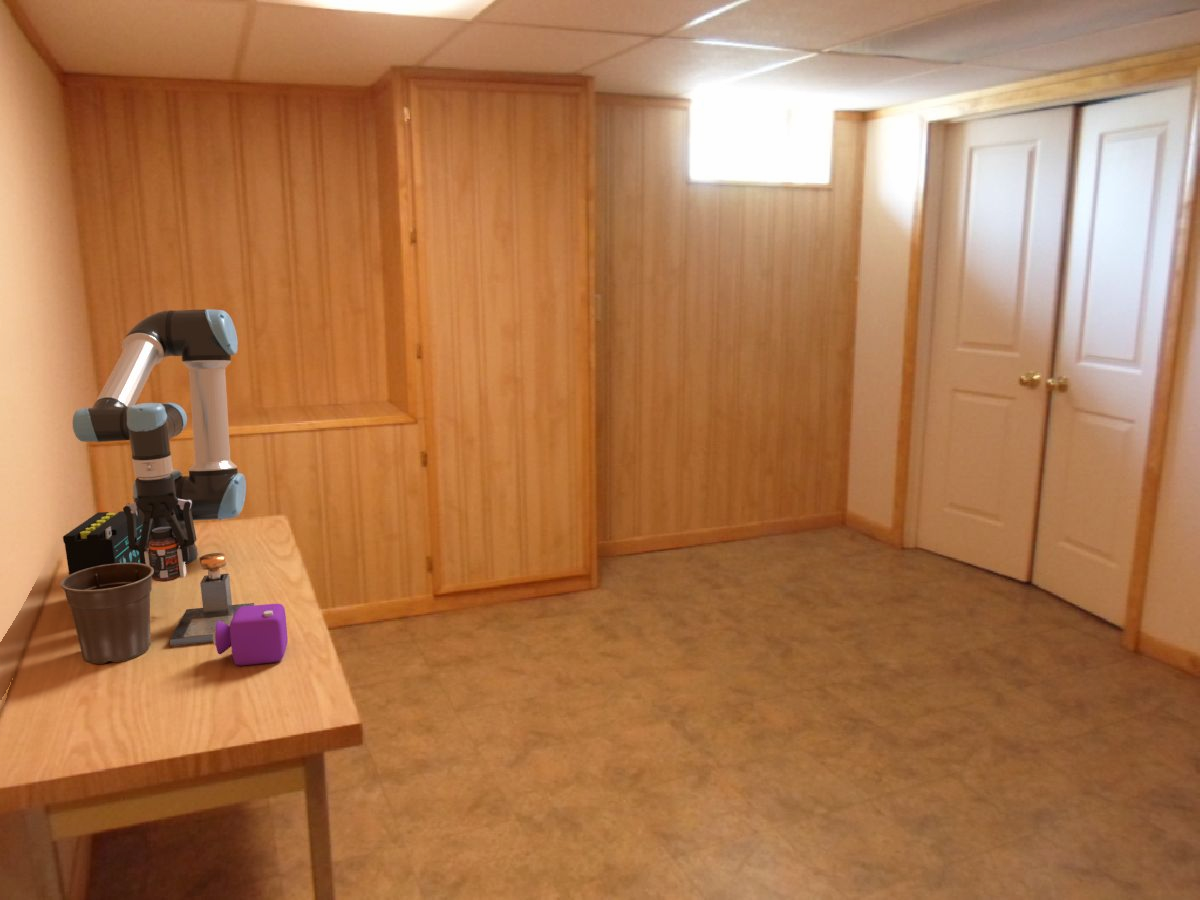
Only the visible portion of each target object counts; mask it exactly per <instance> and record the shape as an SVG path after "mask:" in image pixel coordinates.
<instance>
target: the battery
mask: <svg viewBox="0 0 1200 900" xmlns="http://www.w3.org/2000/svg"><path fill="white" fill-rule="evenodd" d="M135 515H136V528H137V543H140V538H141V533H142V529H143V525H142V515H137V511H136V512H135ZM62 540H63V541H62V542H63V544H64V549H65V554H66V555H65V556H66V563H67V571H68V576H69V575H70V574H73V573H75V572H78V571H81V570H84V569H87V568H91V567H95V566H100V565H107V564H116V563H141V562H140V555H139V552H138V551H137V550H130V549H129V544H128V529H127V517H126V515H125V513H124V511H122V510H120V511H118V512H117V513H115V512H108V511H103V512H99V511H98V512H97V513H95V514H94V515H92V516H91V517H89V518H87V519H86V520H85V521H84V522H81V524H79V525H77V526H76V527H75V528H73V529H72V530H70V531H69V532H67V533H66V534H64V535H63V536H62Z"/></svg>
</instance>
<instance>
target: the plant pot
mask: <svg viewBox="0 0 1200 900" xmlns="http://www.w3.org/2000/svg"><path fill="white" fill-rule="evenodd" d="M153 573H154V569H153V568H152V567H151V566H149V565H146V564H141V563H116V564H107V565H100V566H95V567H91V568H87V569H84V570H81V571H78V572H75V573H73V574H70V575H69V574H68V575H67V576H66V577H64V578H63V579H62V580H60V587H61V589H63V590H64V593H65V597H66V601H67V603H68V605H70V610H71V613H72V618H73V621H74V626H75V630H76V635H77V638H78V644H79V647H80V652H81V656H82V659H83V660H84V661H86V662H87V663H91V664H97V665H105V664H106V663H108V662H114V663H120V662H125V661H127V660H131V659H135V658H136V657H139V656H141V655H142V654H144V653H146V652H147V651H149V649H150V646H151V592H152V585H153V584H152V582H153V579H152V575H153Z"/></svg>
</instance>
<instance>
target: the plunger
mask: <svg viewBox="0 0 1200 900" xmlns="http://www.w3.org/2000/svg"><path fill="white" fill-rule="evenodd" d="M226 565H227V559H226V554H225V553H222V552H215V553H207V554H204V555H201V556H200V557H199V566H200V569H201V570H204V571H205V570H206V571H207V575H208V577H209V581H218V580H221V576H220V574H221V568H224V567H226Z"/></svg>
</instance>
